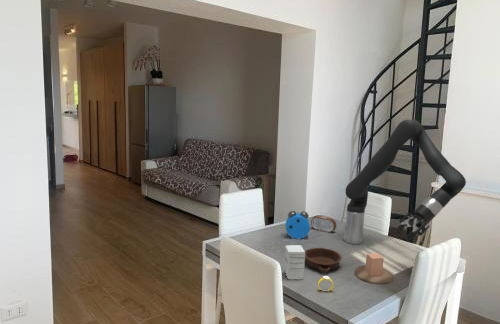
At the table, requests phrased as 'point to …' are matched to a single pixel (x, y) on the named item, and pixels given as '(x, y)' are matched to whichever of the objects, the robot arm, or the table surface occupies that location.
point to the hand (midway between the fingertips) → (401, 235)
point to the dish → (322, 259)
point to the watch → (326, 280)
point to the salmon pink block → (374, 264)
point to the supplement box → (294, 261)
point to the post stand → (364, 276)
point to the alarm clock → (297, 224)
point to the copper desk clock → (323, 223)
